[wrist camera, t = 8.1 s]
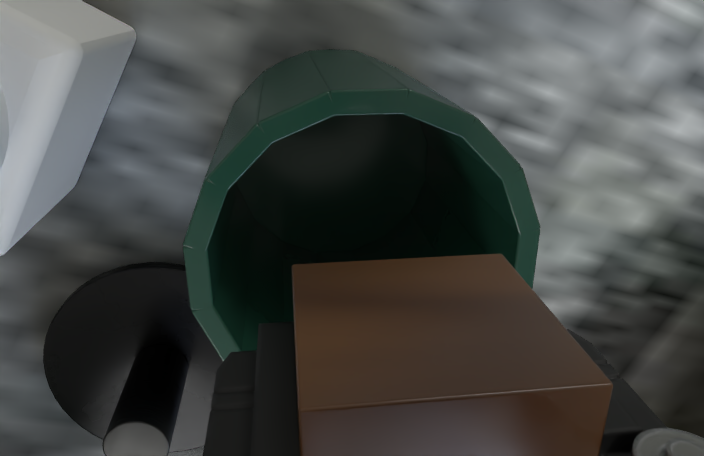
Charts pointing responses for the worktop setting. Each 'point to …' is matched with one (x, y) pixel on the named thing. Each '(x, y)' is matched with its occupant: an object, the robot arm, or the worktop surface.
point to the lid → (133, 361)
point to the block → (438, 363)
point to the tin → (343, 188)
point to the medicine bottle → (51, 101)
